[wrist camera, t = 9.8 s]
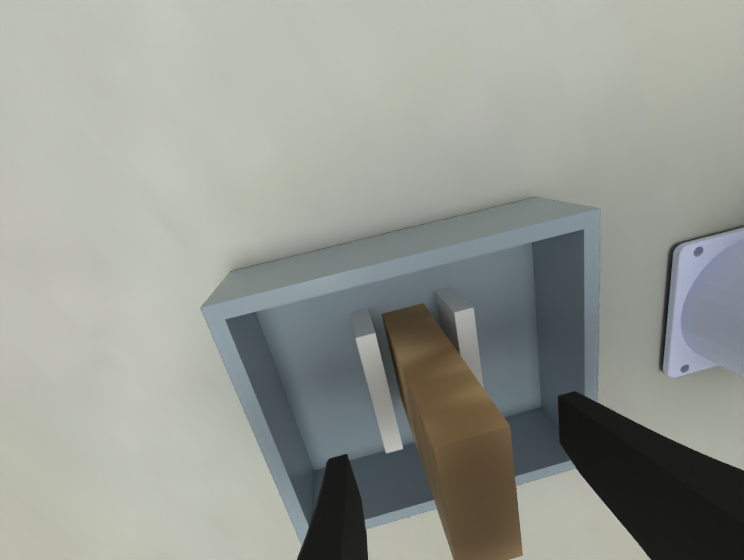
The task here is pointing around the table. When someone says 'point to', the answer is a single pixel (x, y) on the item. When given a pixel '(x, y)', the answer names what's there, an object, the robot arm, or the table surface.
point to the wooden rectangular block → (456, 438)
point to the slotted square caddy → (372, 353)
